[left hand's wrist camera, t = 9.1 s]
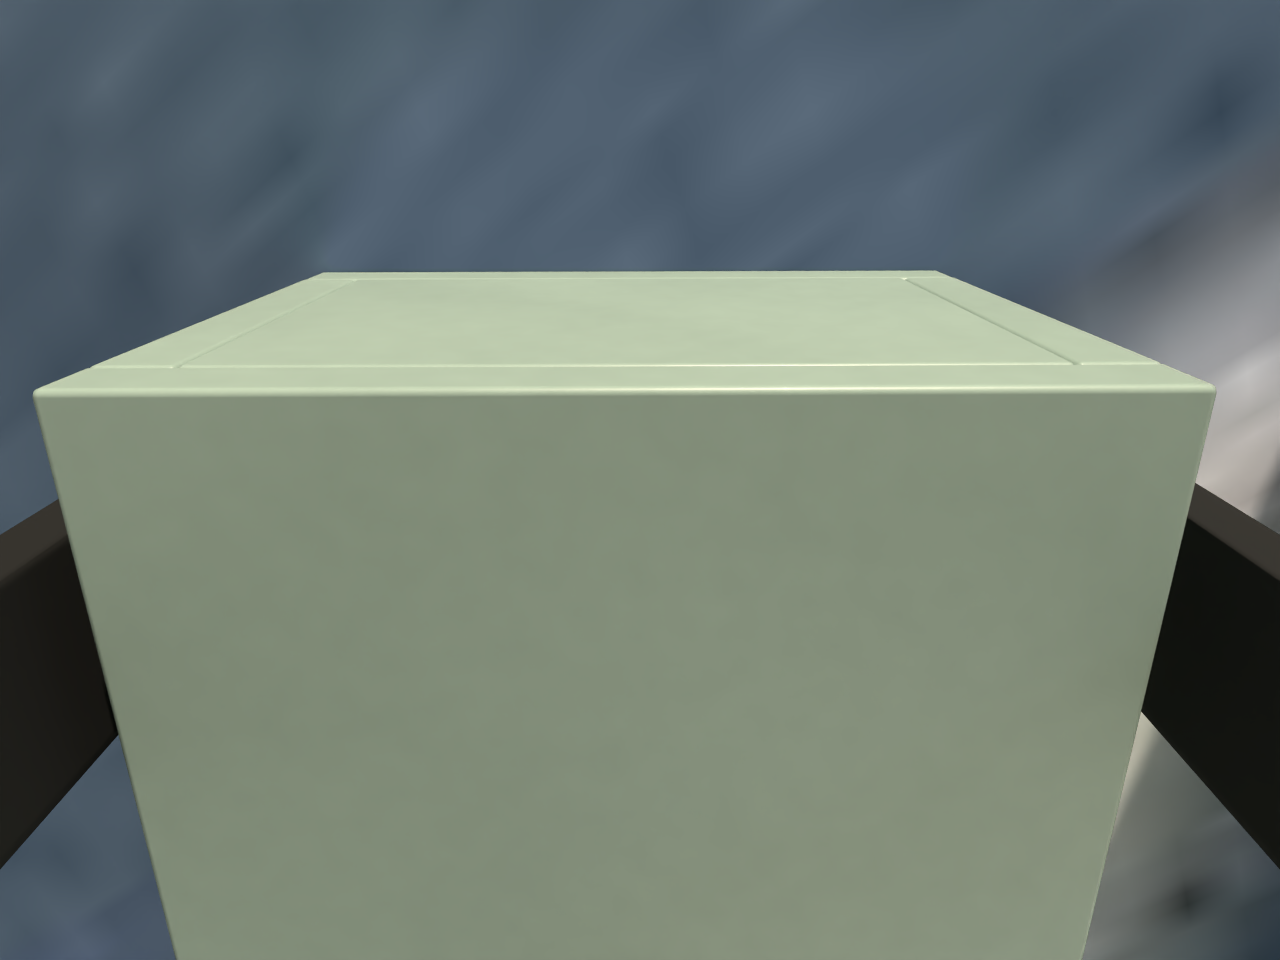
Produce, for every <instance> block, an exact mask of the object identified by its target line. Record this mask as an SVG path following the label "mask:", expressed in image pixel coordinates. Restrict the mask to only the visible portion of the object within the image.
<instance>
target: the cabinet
mask: <svg viewBox="0 0 1280 960" xmlns="http://www.w3.org/2000/svg"><path fill="white" fill-rule="evenodd" d="M1215 397H1216V388H1215V386H1214V385H1212V384H1210V383H1207V382H1205V381H1202V380H1200V379H1198V378H1195V377H1193V376H1190V375H1188V374H1185V373H1183V372H1181V371H1178V370H1176V369H1173V368H1171V367H1168V366H1166V365H1164V364H1160V363H1159V362H1157V361H1154V360H1152V359H1150V358H1147V357H1145V356H1142V355H1140V354H1137V353H1135V352H1133V351H1130V350H1128V349H1125V348H1123V347H1120V346H1118V345H1116V344H1113V343H1111V342H1108V341H1106V340H1103V339H1101V338H1099V337H1096V336H1094V335H1091V334H1089V333H1086V332H1084V331H1082V330H1079V329H1077V328H1074V327H1072V326H1069V325H1067V324H1065V323H1062V322H1060V321H1057V320H1055V319H1052V318H1050V317H1048V316H1045V315H1043V314H1040V313H1038V312H1036V311H1033V310H1031V309H1028V308H1026V307H1023V306H1021V305H1019V304H1016V303H1014V302H1011V301H1009V300H1006V299H1004V298H1002V297H999V296H997V295H994V294H992V293H989V292H987V291H985V290H982V289H980V288H977V287H975V286H972V285H970V284H968V283H965V282H963V281H960V280H958V279H955V278H952V277H949V276H947V275H945V274H942V273H940V272H937V271H692V272H373V273H321V274H319V275H317V276H314V277H312V278H309V279H307V280H303V281H301V282H298V283H296V284H293V285H291V286H288V287H286V288H283V289H281V290H278V291H276V292H274V293H271V294H269V295H266V296H264V297H261V298H259V299H256V300H254V301H251V302H249V303H246V304H244V305H242V306H239V307H237V308H234V309H232V310H229V311H227V312H224V313H222V314H219V315H217V316H214V317H212V318H210V319H207V320H205V321H202V322H200V323H197V324H195V325H192V326H190V327H187V328H185V329H183V330H180V331H178V332H175V333H173V334H170V335H168V336H165V337H163V338H160V339H158V340H155V341H153V342H151V343H148V344H146V345H143V346H141V347H138V348H136V349H133V350H131V351H128V352H126V353H123V354H121V355H119V356H116V357H114V358H111V359H109V360H106V361H104V362H101V363H99V364H96V365H94V366H92V367H91V368H87V369H85V370H82V371H80V372H77V373H75V374H73V375H70V376H68V377H65V378H63V379H60V380H58V381H55V382H53V383H50V384H48V385H46V386H43V387H41V388H38V389H36V390H35V391H34V392H33V400H34V404H35V408H36V412H37V416H38V420H39V424H40V428H41V432H42V436H43V440H44V444H45V448H46V451H47V455H48V459H49V463H50V467H51V471H52V475H53V479H54V483H55V487H56V491H57V495H58V499H59V502H60V506H61V510H62V514H63V518H64V522H65V526H66V530H67V534H68V538H69V542H70V546H71V550H72V553H73V557H74V561H75V565H76V569H77V573H78V577H79V581H80V585H81V589H82V593H83V597H84V601H85V604H86V608H87V612H88V616H89V620H90V624H91V628H92V632H93V636H94V640H95V644H96V648H97V652H98V655H99V659H100V663H101V667H102V671H103V675H104V679H105V683H106V687H107V691H108V695H109V699H110V703H111V706H112V710H113V714H114V718H115V722H116V726H117V730H118V734H119V738H120V742H121V746H122V750H123V754H124V757H125V761H126V765H127V769H128V773H129V777H130V781H131V785H132V789H133V793H134V797H135V801H136V805H137V808H138V812H139V816H140V820H141V824H142V828H143V832H144V836H145V840H146V844H147V848H148V852H149V856H150V859H151V863H152V867H153V871H154V875H155V879H156V883H157V887H158V891H159V895H160V899H161V903H162V907H163V910H164V914H165V918H166V922H167V926H168V930H169V934H170V938H171V942H172V946H173V950H174V954H175V958H176V960H1082V958H1083V954H1084V949H1085V945H1086V941H1087V937H1088V933H1089V928H1090V924H1091V920H1092V916H1093V912H1094V907H1095V903H1096V899H1097V895H1098V890H1099V886H1100V882H1101V878H1102V874H1103V869H1104V865H1105V861H1106V857H1107V852H1108V848H1109V844H1110V840H1111V836H1112V831H1113V827H1114V823H1115V819H1116V814H1117V810H1118V806H1119V802H1120V798H1121V793H1122V789H1123V785H1124V781H1125V776H1126V772H1127V768H1128V764H1129V760H1130V755H1131V751H1132V747H1133V743H1134V739H1135V734H1136V730H1137V726H1138V722H1139V717H1140V713H1141V709H1142V705H1143V701H1144V696H1145V692H1146V688H1147V684H1148V679H1149V675H1150V671H1151V667H1152V663H1153V658H1154V654H1155V650H1156V646H1157V641H1158V637H1159V633H1160V629H1161V625H1162V620H1163V616H1164V612H1165V608H1166V604H1167V599H1168V595H1169V591H1170V587H1171V582H1172V578H1173V574H1174V570H1175V566H1176V561H1177V557H1178V553H1179V549H1180V544H1181V540H1182V536H1183V532H1184V528H1185V523H1186V519H1187V515H1188V511H1189V506H1190V502H1191V498H1192V494H1193V490H1194V485H1195V481H1196V477H1197V473H1198V469H1199V464H1200V460H1201V456H1202V452H1203V447H1204V443H1205V439H1206V435H1207V431H1208V426H1209V422H1210V418H1211V414H1212V409H1213V405H1214V401H1215Z"/></svg>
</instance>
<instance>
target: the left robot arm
mask: <svg viewBox="0 0 1280 960" xmlns="http://www.w3.org/2000/svg"><path fill="white" fill-rule="evenodd" d="M1141 712H1142V713H1143V714H1144V715H1145V716H1146V717H1147V719H1148V720H1149V721H1150V722H1151V723H1152V724H1153V725H1154V726H1155V728H1156V729H1157V730H1158V731H1159V732H1160V733H1161V734H1162V736H1163V737H1164V738H1165V739H1166V740H1167V741H1168V742H1169V744H1170V745H1171V746H1172V747H1173V748H1174V749H1175V750H1176V752H1177V753H1178V754H1179V755H1180V756H1181V757H1182V758H1183V760H1184V761H1185V762H1186V763H1187V764H1188V765H1189V766H1190V768H1191V769H1192V770H1193V771H1194V772H1195V773H1196V774H1197V775H1198V777H1199V778H1200V779H1201V780H1202V781H1203V782H1204V783H1205V785H1206V786H1207V787H1208V788H1209V789H1210V790H1211V791H1212V793H1213V794H1214V795H1215V796H1216V797H1217V798H1218V799H1219V801H1220V802H1221V803H1222V804H1223V805H1224V806H1225V807H1226V809H1227V810H1228V811H1229V812H1230V813H1231V814H1232V815H1233V816H1234V818H1235V819H1236V820H1237V821H1238V822H1239V823H1240V824H1241V826H1242V827H1243V828H1244V829H1245V830H1246V831H1247V832H1248V834H1249V835H1250V836H1251V837H1252V838H1253V839H1254V840H1255V842H1256V843H1257V844H1258V845H1259V846H1260V847H1261V848H1262V850H1263V851H1264V852H1265V853H1266V854H1267V855H1268V856H1269V857H1270V859H1271V860H1272V861H1273V862H1274V863H1275V864H1276V865H1277V867H1278V868H1279V869H1280V535H1279V534H1277V533H1276V532H1274V531H1272V530H1271V529H1269V528H1268V527H1266V526H1264V525H1263V524H1261V523H1259V522H1258V521H1256V520H1255V519H1253V518H1251V517H1250V516H1248V515H1246V514H1245V513H1243V512H1242V511H1240V510H1238V509H1237V508H1235V507H1233V506H1232V505H1230V504H1229V503H1227V502H1225V501H1224V500H1222V499H1221V498H1219V497H1217V496H1216V495H1214V494H1212V493H1211V492H1209V491H1208V490H1206V489H1204V488H1203V487H1201V486H1199V485H1198V484H1196V483H1195V485H1194V490H1193V494H1192V498H1191V502H1190V506H1189V511H1188V515H1187V519H1186V523H1185V528H1184V532H1183V536H1182V540H1181V544H1180V549H1179V553H1178V557H1177V561H1176V566H1175V570H1174V574H1173V578H1172V582H1171V587H1170V591H1169V595H1168V599H1167V604H1166V608H1165V612H1164V616H1163V620H1162V625H1161V629H1160V633H1159V637H1158V641H1157V646H1156V650H1155V654H1154V658H1153V663H1152V667H1151V671H1150V675H1149V679H1148V684H1147V688H1146V692H1145V696H1144V701H1143V705H1142V709H1141ZM117 736H118V730H117V726H116V722H115V718H114V714H113V710H112V706H111V703H110V699H109V695H108V691H107V687H106V683H105V679H104V675H103V671H102V667H101V663H100V659H99V655H98V652H97V648H96V644H95V640H94V636H93V632H92V628H91V624H90V620H89V616H88V612H87V608H86V604H85V601H84V597H83V593H82V589H81V585H80V581H79V577H78V573H77V569H76V565H75V561H74V557H73V553H72V550H71V546H70V542H69V538H68V534H67V530H66V526H65V522H64V518H63V514H62V510H61V506H60V502H59V499H58V500H56V501H55V502H53V503H51V504H50V505H48V506H46V507H45V508H43V509H42V510H40V511H38V512H37V513H35V514H34V515H32V516H30V517H29V518H27V519H25V520H24V521H22V522H21V523H19V524H17V525H16V526H14V527H12V528H11V529H9V530H8V531H6V532H4V533H3V534H1V535H0V869H1V868H2V867H3V865H4V864H5V863H6V862H7V861H8V860H9V859H10V857H11V856H12V855H13V854H14V853H15V852H16V851H17V850H18V848H19V847H20V846H21V845H22V844H23V843H24V842H25V840H26V839H27V838H28V837H29V836H30V835H31V834H32V832H33V831H34V830H35V829H36V828H37V827H38V826H39V824H40V823H41V822H42V821H43V820H44V819H45V818H46V816H47V815H48V814H49V813H50V812H51V811H52V810H53V809H54V807H55V806H56V805H57V804H58V803H59V802H60V801H61V799H62V798H63V797H64V796H65V795H66V794H67V793H68V791H69V790H70V789H71V788H72V787H73V786H74V785H75V783H76V782H77V781H78V780H79V779H80V778H81V777H82V775H83V774H84V773H85V772H86V771H87V770H88V769H89V768H90V766H91V765H92V764H93V763H94V762H95V761H96V760H97V758H98V757H99V756H100V755H101V754H102V753H103V752H104V750H105V749H106V748H107V747H108V746H109V745H110V744H111V742H112V741H113V740H114V739H115V738H116V737H117Z"/></svg>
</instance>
